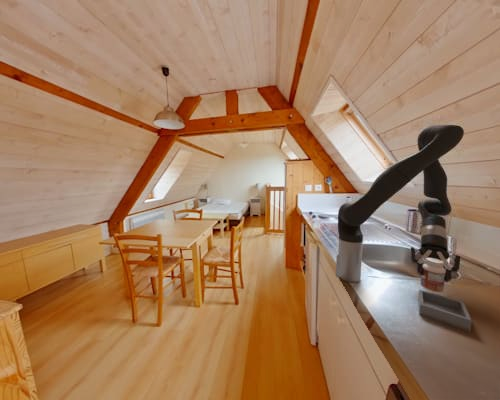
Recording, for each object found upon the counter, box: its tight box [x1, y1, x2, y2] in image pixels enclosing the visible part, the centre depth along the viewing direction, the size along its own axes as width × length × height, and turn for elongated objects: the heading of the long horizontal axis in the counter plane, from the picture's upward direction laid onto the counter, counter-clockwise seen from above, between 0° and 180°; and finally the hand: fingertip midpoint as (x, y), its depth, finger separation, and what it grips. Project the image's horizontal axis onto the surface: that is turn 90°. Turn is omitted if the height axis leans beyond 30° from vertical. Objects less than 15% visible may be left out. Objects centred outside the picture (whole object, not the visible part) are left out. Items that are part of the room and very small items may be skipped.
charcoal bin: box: [417, 289, 472, 333], centre depth 59 cm, size 11×11×4 cm
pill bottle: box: [419, 258, 446, 294], centre depth 68 cm, size 6×6×11 cm
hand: (433, 277), depth 67 cm, fingers closed on pill bottle, 6 cm apart
